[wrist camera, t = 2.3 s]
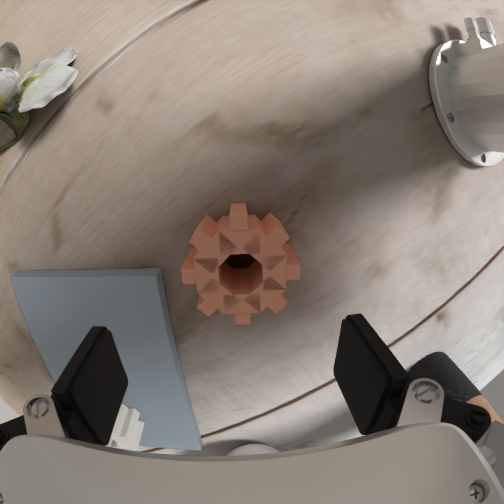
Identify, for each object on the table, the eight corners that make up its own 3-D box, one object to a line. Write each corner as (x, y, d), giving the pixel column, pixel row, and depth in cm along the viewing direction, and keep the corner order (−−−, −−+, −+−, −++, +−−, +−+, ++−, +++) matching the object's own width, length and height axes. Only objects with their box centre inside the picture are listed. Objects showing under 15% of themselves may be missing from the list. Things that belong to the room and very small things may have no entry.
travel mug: (400, 402, 28) (458, 518, 10) (398, 370, 26) (476, 509, 7) (446, 375, 28) (514, 475, 9) (449, 339, 25) (540, 452, 6)
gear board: (18, 270, 19) (-22, 301, 13) (161, 267, 20) (134, 313, 14) (92, 427, 28) (79, 461, 21) (202, 441, 28) (199, 483, 22)
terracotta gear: (186, 205, 19) (174, 218, 15) (289, 201, 19) (302, 213, 15) (196, 296, 21) (188, 326, 17) (287, 293, 21) (297, 321, 18)
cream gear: (75, 397, 23) (63, 421, 19) (115, 389, 23) (104, 418, 19) (114, 432, 26) (106, 456, 22) (156, 428, 25) (150, 456, 21)
